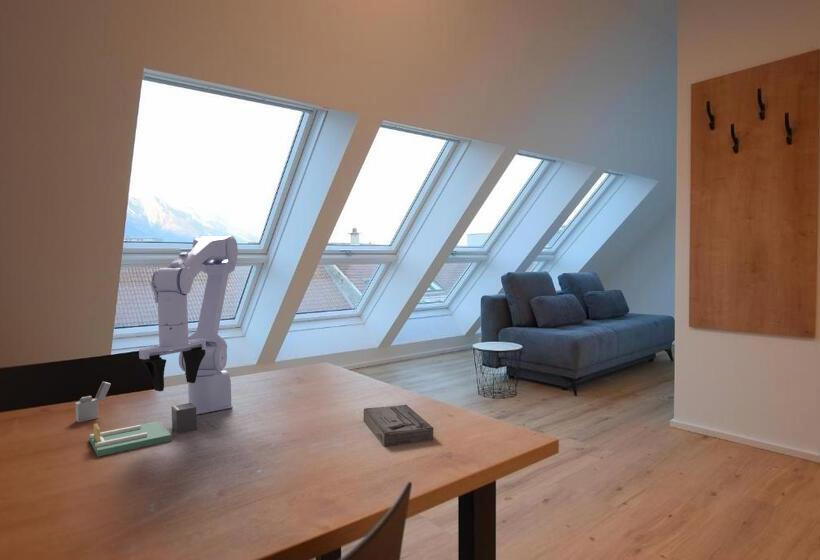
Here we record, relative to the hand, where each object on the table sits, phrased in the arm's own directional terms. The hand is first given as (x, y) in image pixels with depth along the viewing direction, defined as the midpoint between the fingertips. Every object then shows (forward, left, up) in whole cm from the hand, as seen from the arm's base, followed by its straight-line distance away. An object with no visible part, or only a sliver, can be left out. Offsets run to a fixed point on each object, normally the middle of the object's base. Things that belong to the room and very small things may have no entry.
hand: (175, 386), depth 111 cm
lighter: (+13, -21, -10) cm, 27 cm away
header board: (+9, +1, -9) cm, 13 cm away
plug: (-1, +1, -10) cm, 10 cm away
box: (-36, +31, -10) cm, 49 cm away
